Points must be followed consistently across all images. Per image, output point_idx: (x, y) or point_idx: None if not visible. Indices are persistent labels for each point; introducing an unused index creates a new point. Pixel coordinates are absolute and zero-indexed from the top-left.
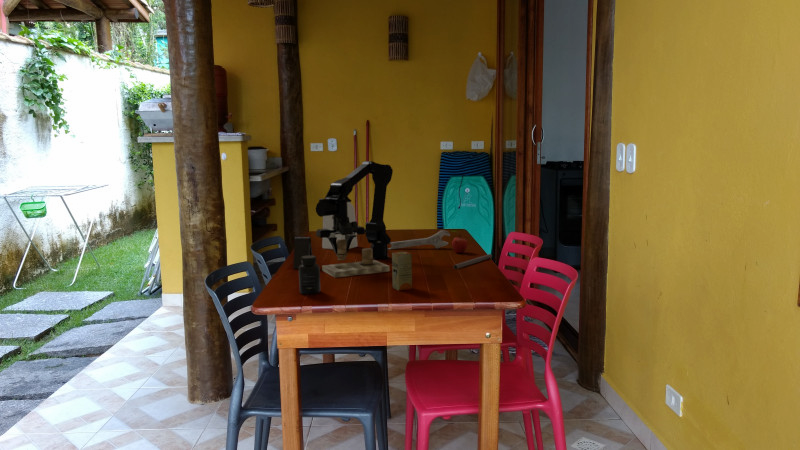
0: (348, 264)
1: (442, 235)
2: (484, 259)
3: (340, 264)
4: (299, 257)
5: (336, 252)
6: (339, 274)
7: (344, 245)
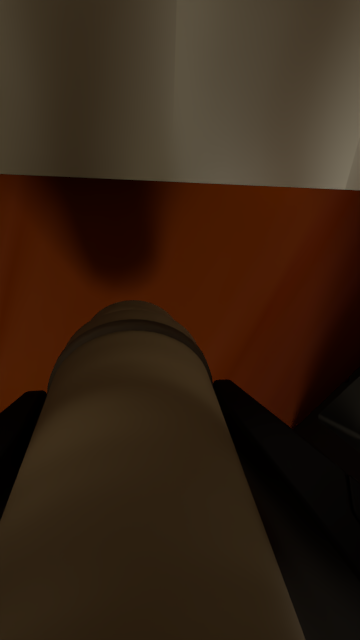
0: (136, 26)
1: None
2: None
3: (241, 118)
4: None
5: (229, 389)
6: None
7: (78, 471)
